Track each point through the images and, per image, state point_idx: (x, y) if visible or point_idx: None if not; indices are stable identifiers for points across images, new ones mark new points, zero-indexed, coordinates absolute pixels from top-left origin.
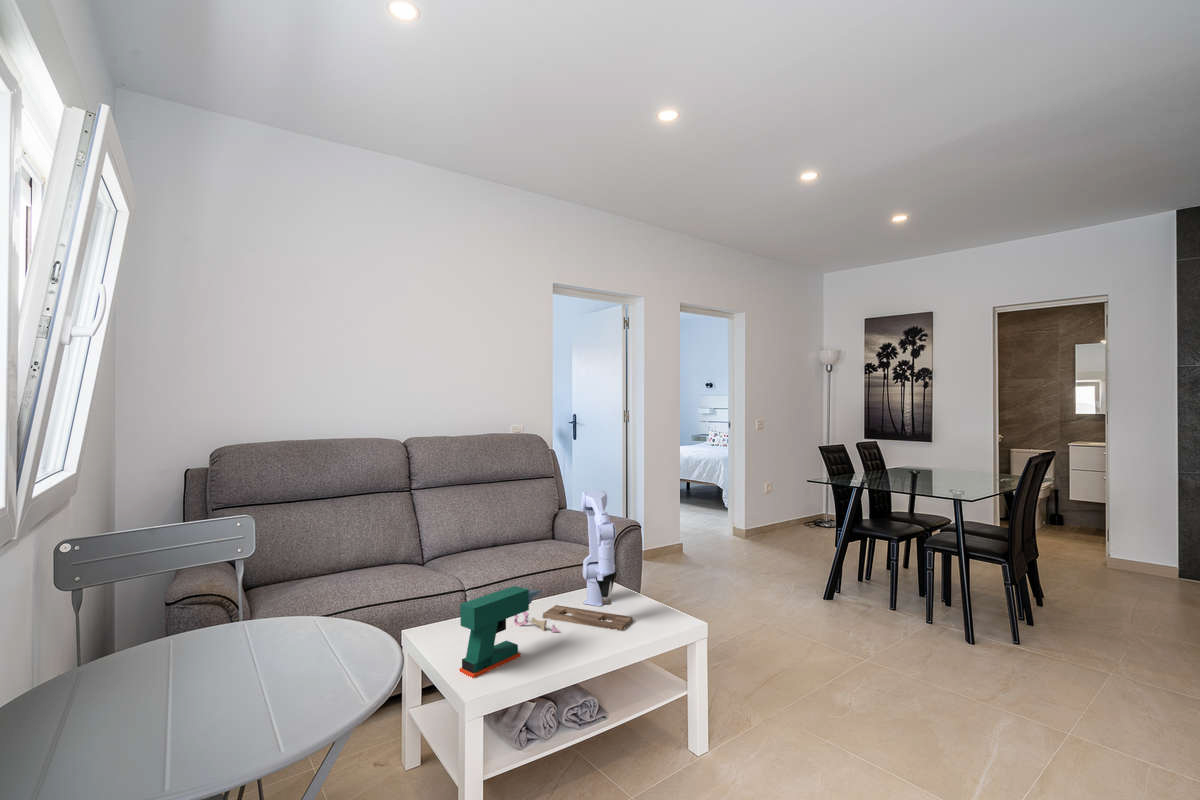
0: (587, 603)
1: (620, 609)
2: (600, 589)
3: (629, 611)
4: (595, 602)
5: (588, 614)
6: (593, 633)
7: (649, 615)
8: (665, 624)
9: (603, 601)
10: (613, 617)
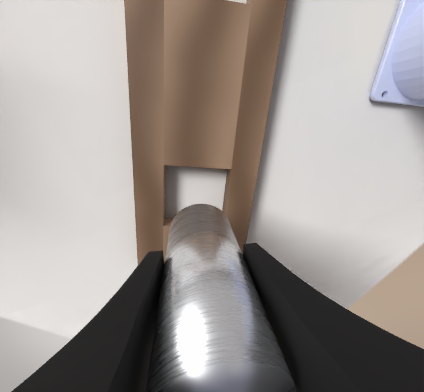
0: (400, 11)
1: (340, 190)
2: (110, 302)
3: (322, 225)
4: (397, 62)
5: (215, 95)
6: (65, 183)
7: None
8: None
9: (169, 234)
10: (224, 212)
